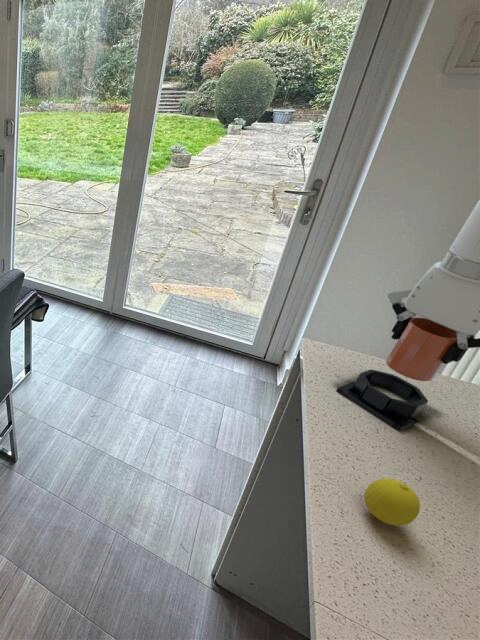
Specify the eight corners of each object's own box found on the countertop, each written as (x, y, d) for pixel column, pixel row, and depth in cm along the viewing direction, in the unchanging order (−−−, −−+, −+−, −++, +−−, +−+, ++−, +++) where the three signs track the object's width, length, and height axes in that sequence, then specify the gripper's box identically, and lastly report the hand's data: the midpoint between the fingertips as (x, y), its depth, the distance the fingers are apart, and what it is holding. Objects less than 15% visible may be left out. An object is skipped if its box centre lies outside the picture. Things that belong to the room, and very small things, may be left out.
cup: (397, 354, 84) (422, 314, 79) (440, 376, 78) (469, 334, 74) (377, 362, 82) (402, 321, 77) (420, 385, 76) (449, 342, 72)
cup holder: (367, 378, 91) (377, 363, 89) (431, 415, 82) (443, 399, 80) (336, 390, 87) (345, 375, 85) (399, 431, 78) (411, 414, 76)
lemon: (368, 531, 62) (395, 498, 58) (347, 496, 66) (371, 464, 63) (412, 541, 60) (441, 508, 57) (387, 504, 65) (413, 472, 62)
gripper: (564, 287, 64) (496, 374, 72) (422, 243, 78) (378, 319, 86) (541, 296, 61) (474, 385, 69) (399, 249, 76) (356, 327, 84)
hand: (421, 348), depth 78 cm, fingers closed on cup, 6 cm apart
